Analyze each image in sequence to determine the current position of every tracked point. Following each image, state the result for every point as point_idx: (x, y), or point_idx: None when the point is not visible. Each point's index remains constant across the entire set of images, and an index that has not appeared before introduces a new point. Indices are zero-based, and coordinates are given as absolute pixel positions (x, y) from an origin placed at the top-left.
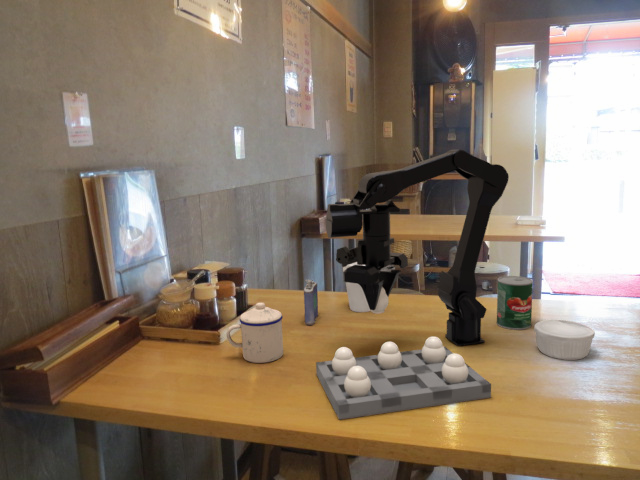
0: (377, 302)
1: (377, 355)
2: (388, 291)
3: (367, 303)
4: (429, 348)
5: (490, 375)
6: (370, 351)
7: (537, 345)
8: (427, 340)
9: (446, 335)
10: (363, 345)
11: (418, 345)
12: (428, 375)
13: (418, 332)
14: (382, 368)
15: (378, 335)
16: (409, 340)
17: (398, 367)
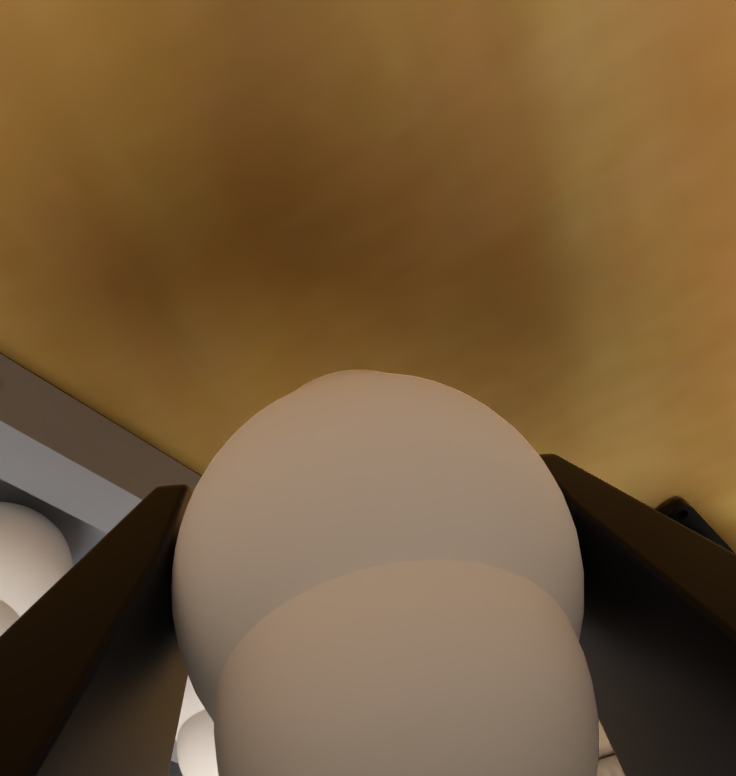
0: (176, 685)
1: (39, 451)
2: (611, 738)
3: (231, 441)
4: (176, 738)
5: None
6: (276, 231)
7: (617, 768)
8: (194, 761)
9: (669, 515)
10: (359, 112)
11: None
12: None
13: (729, 349)
14: (5, 484)
15: (616, 116)
16: (575, 364)
17: (89, 538)
